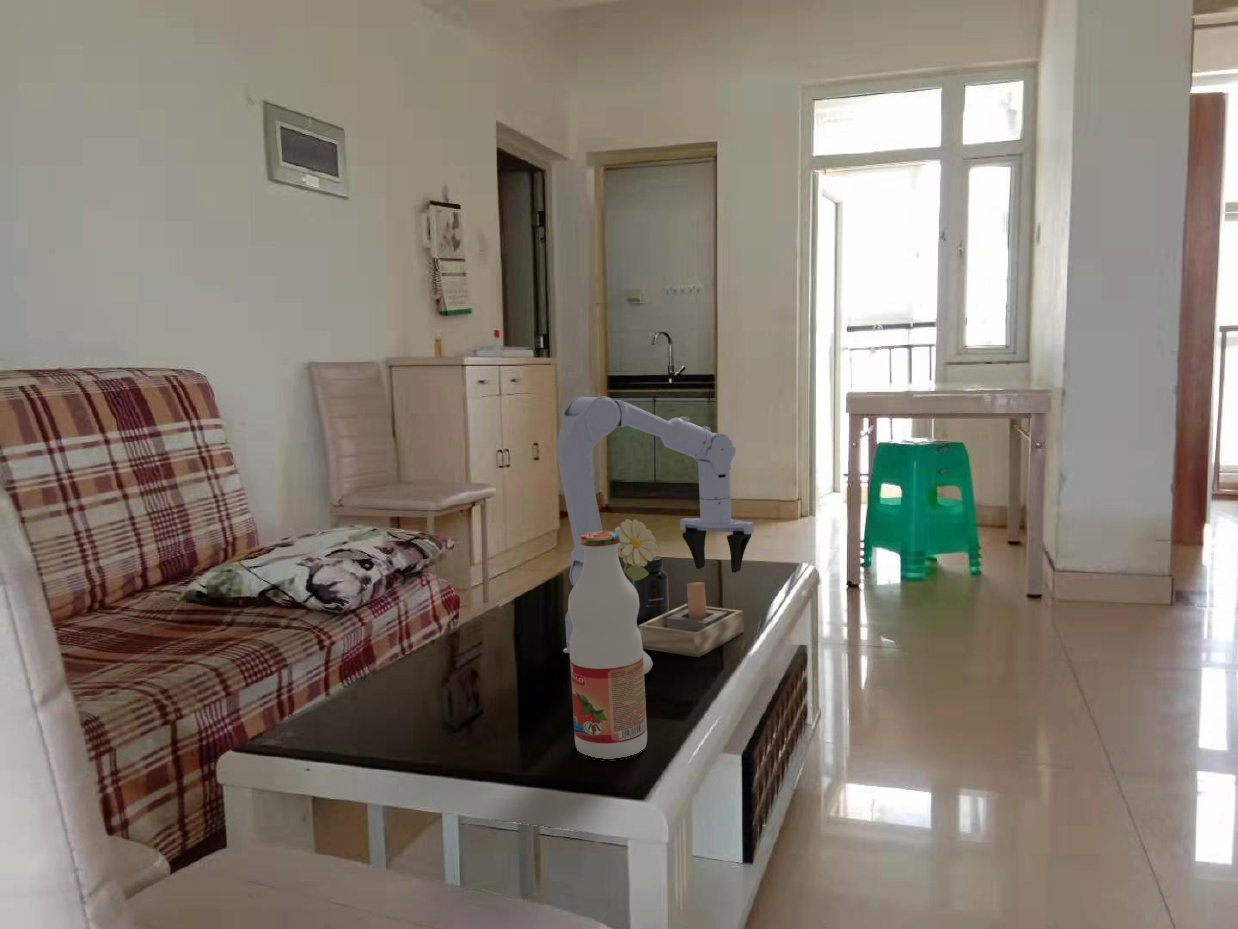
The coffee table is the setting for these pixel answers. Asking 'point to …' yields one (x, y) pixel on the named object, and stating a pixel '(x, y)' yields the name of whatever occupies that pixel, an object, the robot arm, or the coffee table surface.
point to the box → (691, 631)
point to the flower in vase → (636, 557)
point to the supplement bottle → (652, 591)
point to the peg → (696, 600)
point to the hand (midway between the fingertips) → (718, 569)
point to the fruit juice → (606, 655)
